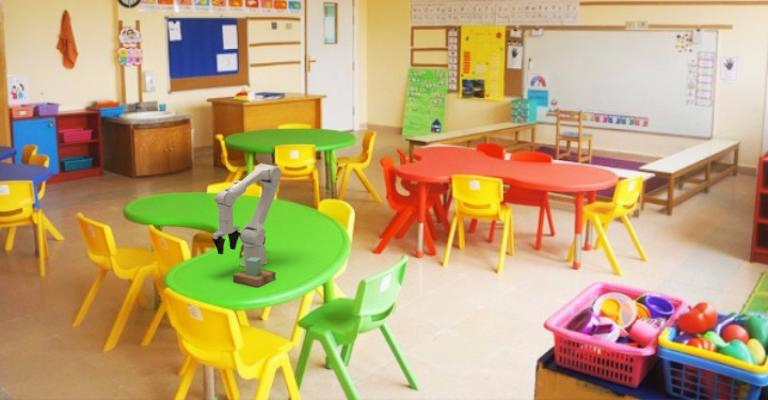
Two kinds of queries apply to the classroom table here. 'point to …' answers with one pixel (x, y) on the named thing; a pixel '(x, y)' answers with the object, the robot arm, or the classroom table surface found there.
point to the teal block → (253, 266)
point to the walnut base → (254, 278)
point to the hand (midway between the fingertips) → (226, 251)
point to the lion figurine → (243, 248)
